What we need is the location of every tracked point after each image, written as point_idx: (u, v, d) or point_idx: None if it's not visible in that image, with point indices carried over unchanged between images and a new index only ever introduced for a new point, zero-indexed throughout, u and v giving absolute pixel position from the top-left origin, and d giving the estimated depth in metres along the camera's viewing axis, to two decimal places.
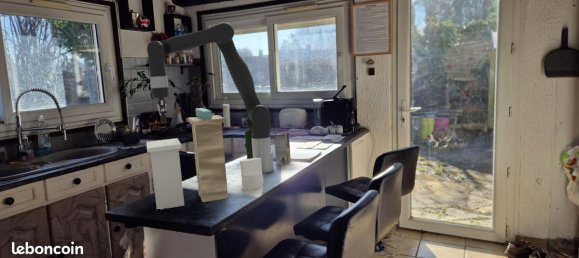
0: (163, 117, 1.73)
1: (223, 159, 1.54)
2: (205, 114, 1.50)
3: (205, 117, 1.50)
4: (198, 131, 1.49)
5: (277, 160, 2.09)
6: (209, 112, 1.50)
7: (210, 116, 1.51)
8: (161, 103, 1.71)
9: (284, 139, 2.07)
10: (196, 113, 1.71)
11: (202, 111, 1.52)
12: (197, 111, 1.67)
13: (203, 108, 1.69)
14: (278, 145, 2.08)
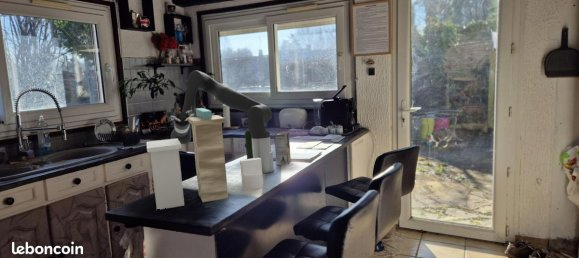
0: None
1: (223, 159, 1.54)
2: (205, 114, 1.50)
3: (205, 117, 1.50)
4: (198, 131, 1.49)
5: (277, 160, 2.09)
6: (209, 112, 1.50)
7: (210, 116, 1.51)
8: None
9: (284, 139, 2.07)
10: (196, 113, 1.71)
11: (202, 111, 1.52)
12: (197, 111, 1.67)
13: (203, 108, 1.69)
14: (278, 145, 2.08)
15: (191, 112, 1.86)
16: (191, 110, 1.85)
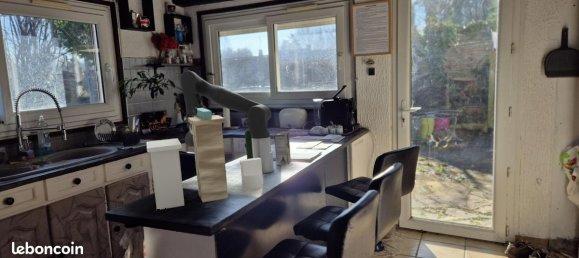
0: (194, 112, 1.69)
1: (223, 159, 1.54)
2: (205, 114, 1.50)
3: (205, 117, 1.50)
4: (198, 131, 1.49)
5: (277, 160, 2.09)
6: (209, 112, 1.50)
7: (210, 116, 1.51)
8: (185, 119, 1.73)
9: (284, 139, 2.07)
10: None
11: (202, 111, 1.52)
12: (197, 111, 1.66)
13: (203, 108, 1.69)
14: (278, 145, 2.08)
15: None
16: None
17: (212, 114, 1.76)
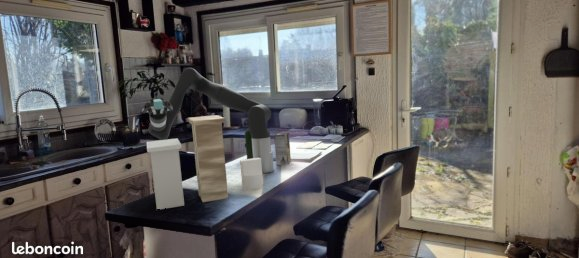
0: (150, 103, 1.72)
1: (223, 159, 1.54)
2: (156, 104, 1.53)
3: (156, 107, 1.53)
4: (198, 131, 1.49)
5: (277, 160, 2.09)
6: (160, 102, 1.53)
7: (161, 106, 1.54)
8: (143, 110, 1.76)
9: (284, 139, 2.07)
10: None
11: (154, 101, 1.55)
12: None
13: (160, 99, 1.72)
14: (278, 145, 2.08)
15: None
16: None
17: (170, 105, 1.80)
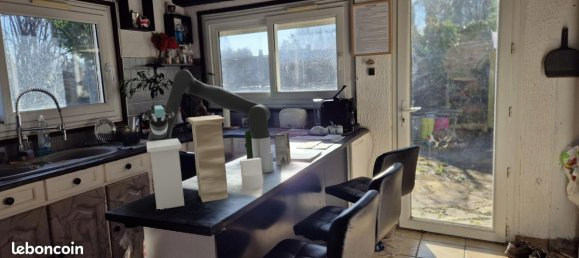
0: None
1: (223, 159, 1.54)
2: (157, 112, 1.44)
3: (157, 115, 1.44)
4: (198, 131, 1.49)
5: (277, 160, 2.09)
6: (162, 110, 1.44)
7: (163, 114, 1.44)
8: (143, 117, 1.67)
9: (284, 139, 2.07)
10: None
11: (155, 109, 1.46)
12: None
13: None
14: (278, 145, 2.08)
15: None
16: None
17: (172, 112, 1.70)
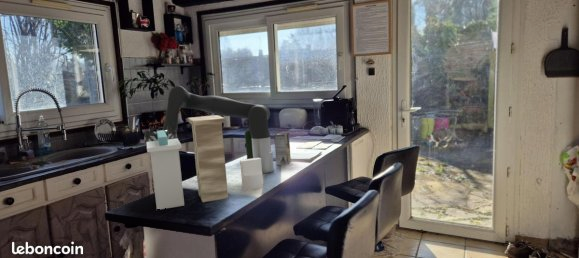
0: (150, 132, 1.64)
1: (223, 159, 1.54)
2: (161, 140, 1.45)
3: (161, 143, 1.45)
4: (198, 131, 1.49)
5: (277, 160, 2.09)
6: (165, 138, 1.46)
7: (166, 142, 1.46)
8: (144, 139, 1.69)
9: (284, 139, 2.07)
10: (157, 136, 1.66)
11: (158, 136, 1.47)
12: (157, 134, 1.62)
13: (164, 131, 1.64)
14: (278, 145, 2.08)
15: (167, 132, 1.67)
16: (167, 130, 1.66)
17: (176, 133, 1.73)
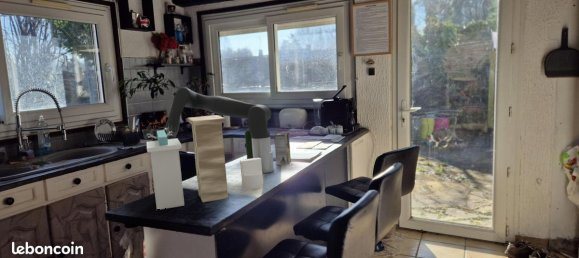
0: None
1: (223, 159, 1.54)
2: (161, 140, 1.45)
3: (161, 143, 1.45)
4: (198, 131, 1.49)
5: (277, 160, 2.09)
6: (165, 138, 1.46)
7: (166, 142, 1.46)
8: (144, 136, 1.80)
9: (284, 139, 2.07)
10: (157, 136, 1.66)
11: (158, 136, 1.47)
12: (157, 134, 1.62)
13: (164, 131, 1.64)
14: (278, 145, 2.08)
15: (168, 130, 1.79)
16: (168, 128, 1.78)
17: None
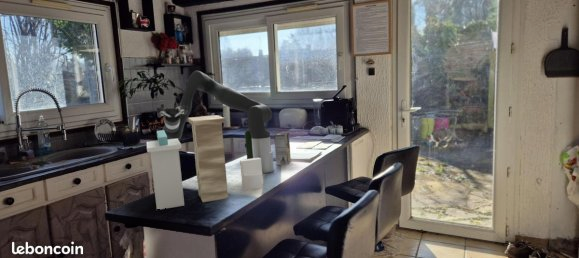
0: (161, 108, 1.84)
1: (223, 159, 1.54)
2: (161, 140, 1.45)
3: (161, 143, 1.45)
4: (198, 131, 1.49)
5: (277, 160, 2.09)
6: (165, 138, 1.46)
7: (166, 142, 1.46)
8: (157, 114, 1.89)
9: (284, 139, 2.07)
10: (157, 136, 1.66)
11: (158, 136, 1.47)
12: (157, 134, 1.62)
13: (164, 131, 1.64)
14: (278, 145, 2.08)
15: (181, 108, 1.87)
16: (181, 106, 1.86)
17: None
